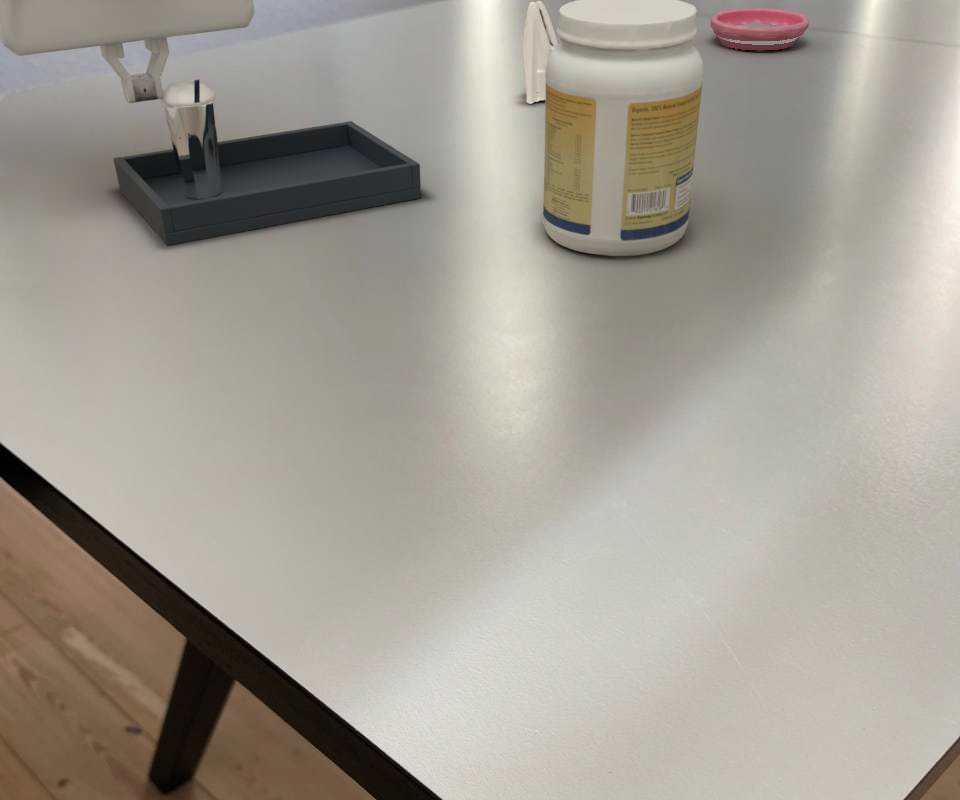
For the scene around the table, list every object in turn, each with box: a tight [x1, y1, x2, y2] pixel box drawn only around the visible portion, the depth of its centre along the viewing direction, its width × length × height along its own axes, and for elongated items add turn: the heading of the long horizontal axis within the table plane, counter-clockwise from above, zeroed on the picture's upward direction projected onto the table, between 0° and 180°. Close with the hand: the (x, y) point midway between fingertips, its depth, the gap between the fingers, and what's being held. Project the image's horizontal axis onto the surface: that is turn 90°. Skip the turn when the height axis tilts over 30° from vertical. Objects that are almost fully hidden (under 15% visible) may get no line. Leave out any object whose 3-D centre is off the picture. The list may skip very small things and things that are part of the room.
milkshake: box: [159, 78, 221, 199], centre depth 97 cm, size 5×5×10 cm
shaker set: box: [522, 0, 559, 105], centre depth 125 cm, size 12×4×11 cm, turn 108°
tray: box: [112, 120, 422, 246], centre depth 102 cm, size 24×16×3 cm, turn 118°
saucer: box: [710, 8, 810, 51], centre depth 145 cm, size 12×12×3 cm
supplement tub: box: [542, 0, 704, 257], centre depth 89 cm, size 12×12×17 cm
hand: (144, 99), depth 93 cm, fingers closed
